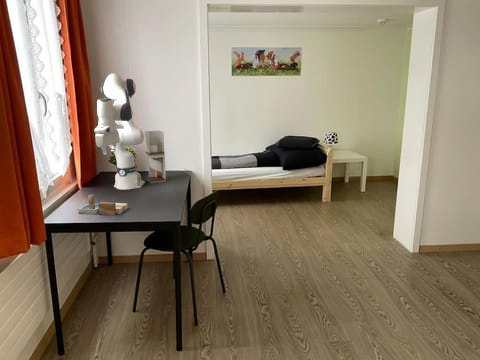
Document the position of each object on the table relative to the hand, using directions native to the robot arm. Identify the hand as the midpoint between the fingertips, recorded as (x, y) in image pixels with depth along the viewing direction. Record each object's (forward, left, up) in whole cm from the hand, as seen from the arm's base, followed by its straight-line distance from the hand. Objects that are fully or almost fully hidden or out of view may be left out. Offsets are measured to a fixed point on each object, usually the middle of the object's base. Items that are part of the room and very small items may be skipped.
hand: (109, 153), depth 209 cm
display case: (-55, +5, -29) cm, 63 cm away
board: (+12, +6, -30) cm, 33 cm away
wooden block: (+19, +6, -29) cm, 35 cm away
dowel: (+15, -5, -28) cm, 33 cm away
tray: (+15, -5, -29) cm, 33 cm away
